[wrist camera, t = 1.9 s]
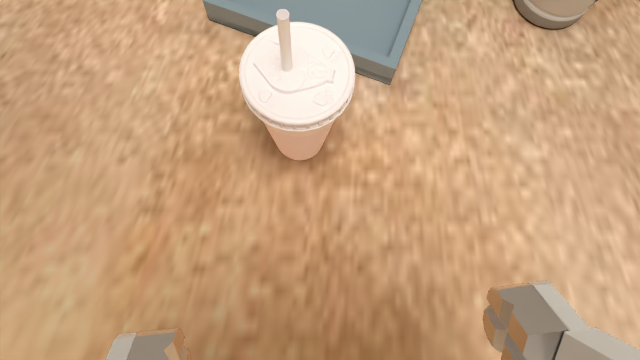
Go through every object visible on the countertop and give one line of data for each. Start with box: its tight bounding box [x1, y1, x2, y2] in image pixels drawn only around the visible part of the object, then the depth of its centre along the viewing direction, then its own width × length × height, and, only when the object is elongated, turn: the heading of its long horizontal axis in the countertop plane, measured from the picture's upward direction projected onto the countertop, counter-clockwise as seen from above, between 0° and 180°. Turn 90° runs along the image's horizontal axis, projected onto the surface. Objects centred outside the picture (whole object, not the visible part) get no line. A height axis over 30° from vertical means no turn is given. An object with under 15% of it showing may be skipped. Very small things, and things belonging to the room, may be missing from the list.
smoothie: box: [239, 9, 355, 160], centre depth 24 cm, size 6×6×14 cm
